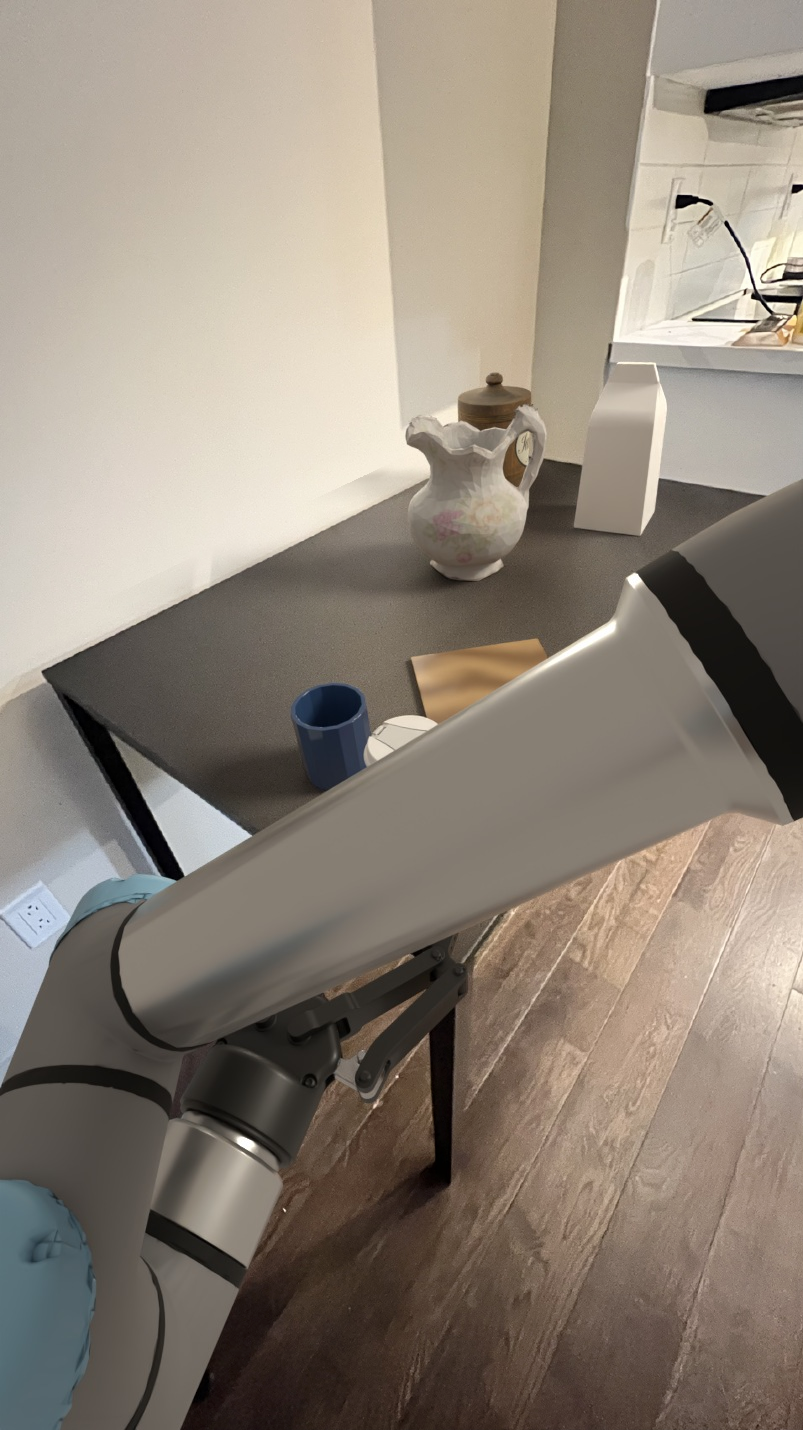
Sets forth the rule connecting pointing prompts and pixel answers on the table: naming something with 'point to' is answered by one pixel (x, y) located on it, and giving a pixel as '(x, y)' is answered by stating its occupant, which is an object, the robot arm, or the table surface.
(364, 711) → the blue cup
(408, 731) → the paper cup
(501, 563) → the ceramic pitcher
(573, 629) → the table surface
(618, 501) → the milk
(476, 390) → the wooden container
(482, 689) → the wooden board
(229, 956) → the robot arm
